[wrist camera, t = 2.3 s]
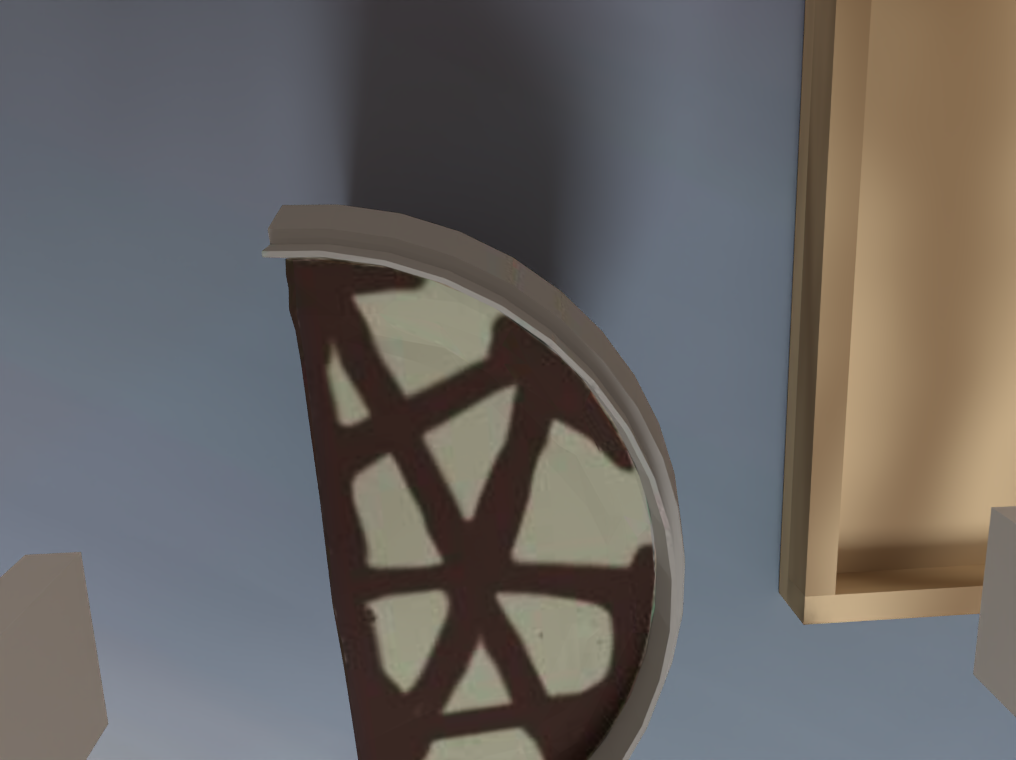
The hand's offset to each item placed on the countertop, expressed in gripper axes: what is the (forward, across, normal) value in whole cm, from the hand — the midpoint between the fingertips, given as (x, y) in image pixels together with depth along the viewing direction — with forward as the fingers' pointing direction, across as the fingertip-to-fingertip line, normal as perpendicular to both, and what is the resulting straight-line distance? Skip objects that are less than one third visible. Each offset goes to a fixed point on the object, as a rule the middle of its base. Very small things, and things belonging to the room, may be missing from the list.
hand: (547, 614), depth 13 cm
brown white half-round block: (+11, 0, 0) cm, 11 cm away
